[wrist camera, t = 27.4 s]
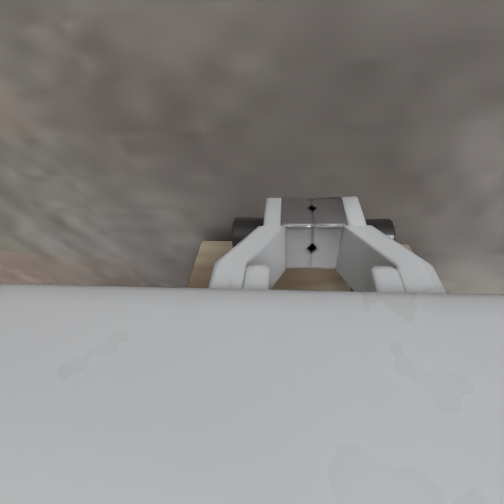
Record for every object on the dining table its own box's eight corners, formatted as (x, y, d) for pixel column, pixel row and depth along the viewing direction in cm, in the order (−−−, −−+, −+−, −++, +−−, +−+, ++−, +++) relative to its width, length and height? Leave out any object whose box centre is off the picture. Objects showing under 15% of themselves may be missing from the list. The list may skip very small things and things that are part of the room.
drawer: (184, 170, 15) (133, 265, 10) (441, 167, 13) (525, 277, 9) (226, 342, 27) (211, 424, 22) (364, 350, 25) (382, 440, 20)
